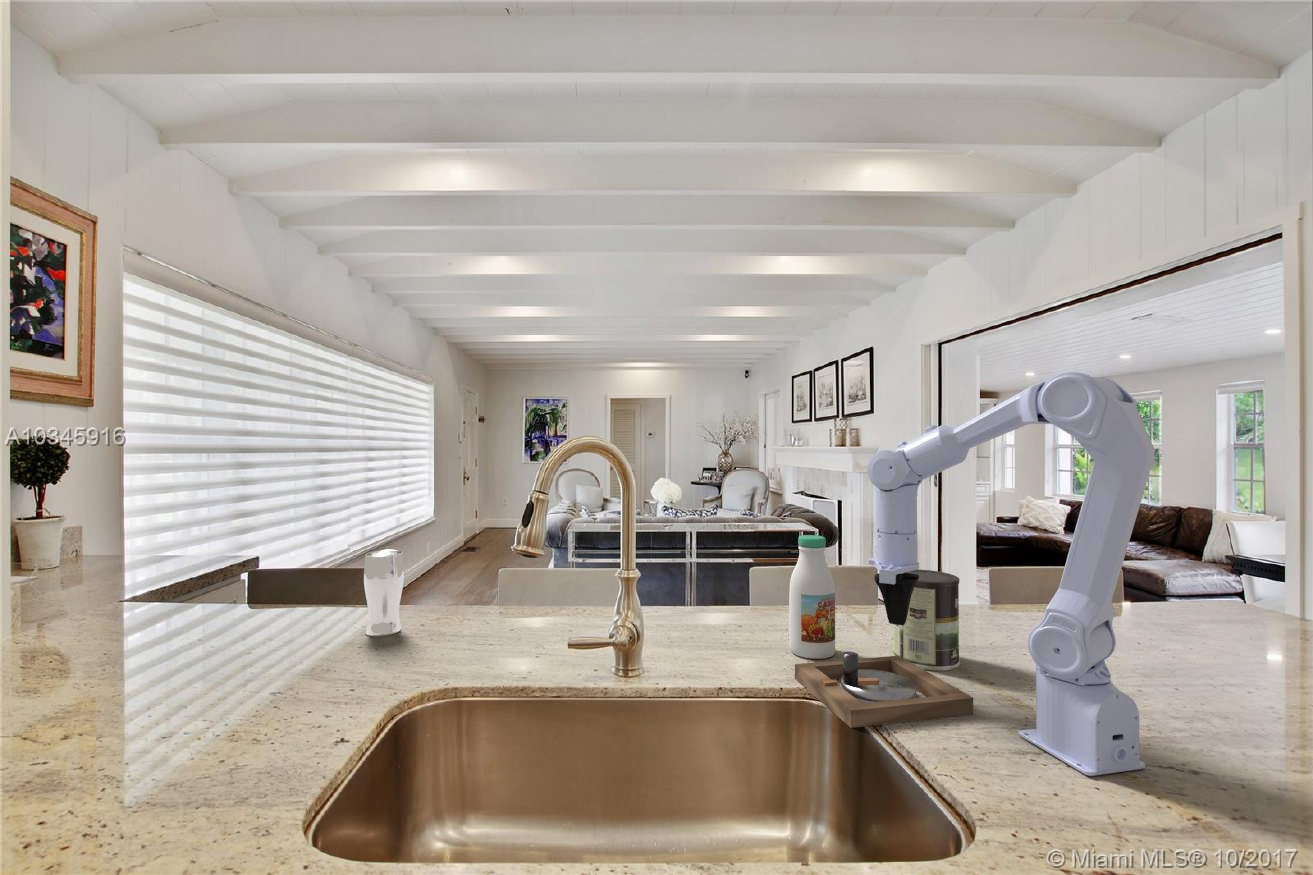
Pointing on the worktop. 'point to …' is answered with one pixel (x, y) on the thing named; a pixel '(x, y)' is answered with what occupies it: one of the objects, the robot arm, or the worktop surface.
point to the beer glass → (383, 591)
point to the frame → (936, 704)
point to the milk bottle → (812, 602)
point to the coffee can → (931, 623)
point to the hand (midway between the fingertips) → (897, 623)
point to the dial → (873, 682)
